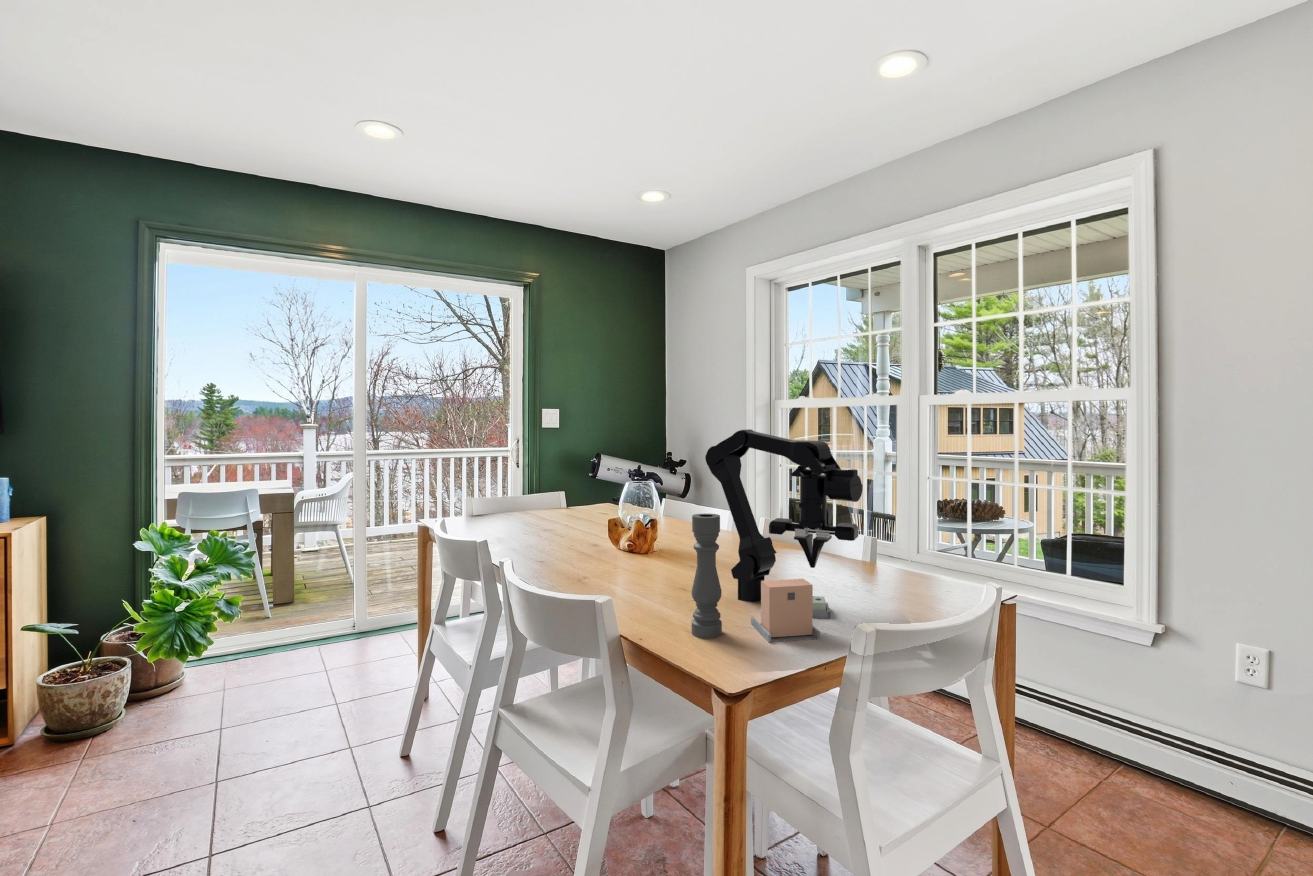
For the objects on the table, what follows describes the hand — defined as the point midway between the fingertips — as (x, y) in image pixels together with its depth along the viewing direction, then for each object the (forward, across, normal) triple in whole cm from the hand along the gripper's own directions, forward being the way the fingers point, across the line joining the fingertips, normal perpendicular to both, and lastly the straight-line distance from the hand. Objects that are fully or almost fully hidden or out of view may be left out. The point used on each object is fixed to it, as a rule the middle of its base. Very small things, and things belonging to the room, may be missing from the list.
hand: (812, 567), depth 142 cm
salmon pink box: (+10, +1, +16) cm, 19 cm away
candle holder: (+11, +16, +23) cm, 30 cm away
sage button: (+10, 0, 0) cm, 10 cm away
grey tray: (+11, +2, +15) cm, 19 cm away
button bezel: (+11, 0, 0) cm, 11 cm away
